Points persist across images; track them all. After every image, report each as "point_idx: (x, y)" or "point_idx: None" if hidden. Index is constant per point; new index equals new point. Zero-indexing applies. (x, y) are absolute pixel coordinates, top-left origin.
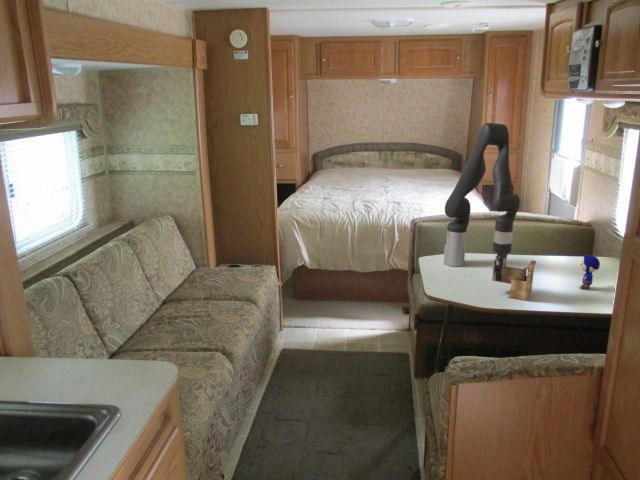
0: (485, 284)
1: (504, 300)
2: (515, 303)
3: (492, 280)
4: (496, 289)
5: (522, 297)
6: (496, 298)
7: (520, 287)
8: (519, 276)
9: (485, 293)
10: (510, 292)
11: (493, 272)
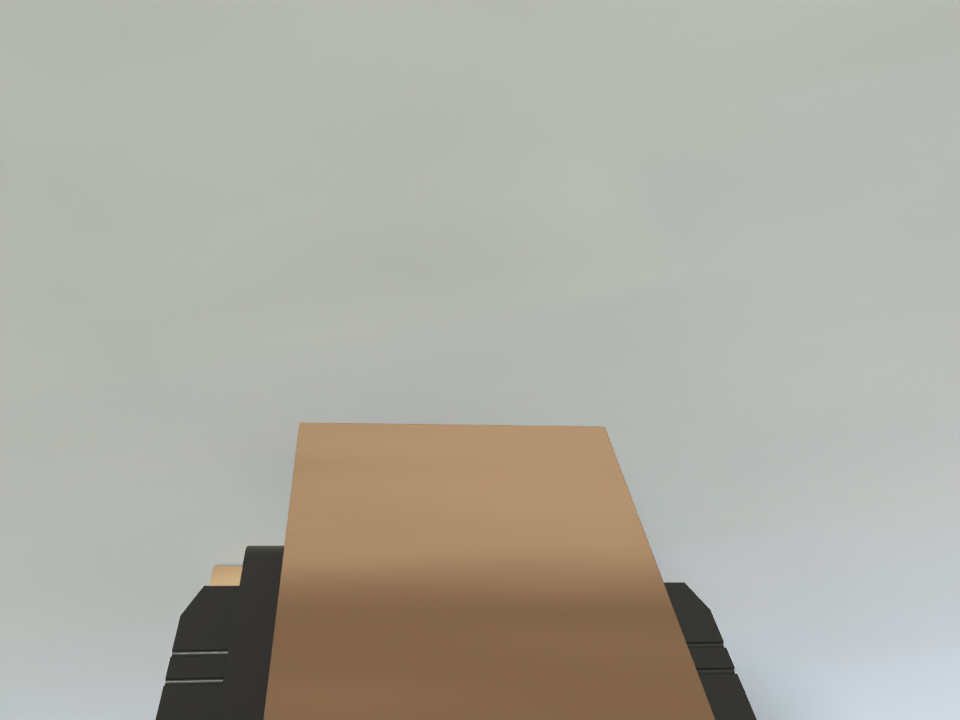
0: (834, 20)
1: (23, 544)
2: (10, 694)
3: (300, 435)
4: (569, 316)
5: None
6: (23, 409)
7: None
8: None
9: (180, 142)
10: None
11: (272, 671)
